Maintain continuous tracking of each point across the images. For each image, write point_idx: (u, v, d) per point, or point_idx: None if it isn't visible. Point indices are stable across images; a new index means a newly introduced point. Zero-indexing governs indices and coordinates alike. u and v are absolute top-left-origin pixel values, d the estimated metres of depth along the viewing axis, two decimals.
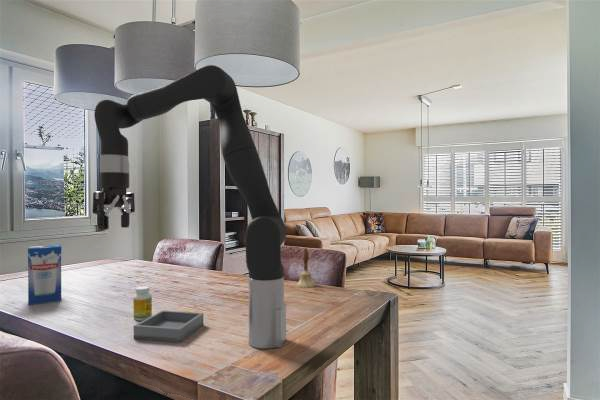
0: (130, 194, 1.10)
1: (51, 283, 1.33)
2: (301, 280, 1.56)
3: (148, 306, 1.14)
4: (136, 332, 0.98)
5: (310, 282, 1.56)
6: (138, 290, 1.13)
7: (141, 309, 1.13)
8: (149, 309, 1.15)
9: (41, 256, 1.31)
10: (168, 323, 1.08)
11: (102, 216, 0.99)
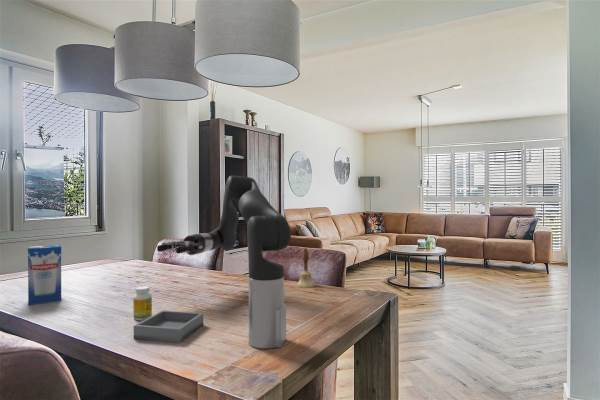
0: None
1: (51, 283, 1.33)
2: (301, 280, 1.56)
3: (148, 306, 1.14)
4: (136, 332, 0.98)
5: (310, 282, 1.56)
6: (138, 290, 1.13)
7: (141, 309, 1.13)
8: (149, 309, 1.15)
9: (41, 256, 1.31)
10: (168, 323, 1.08)
11: None
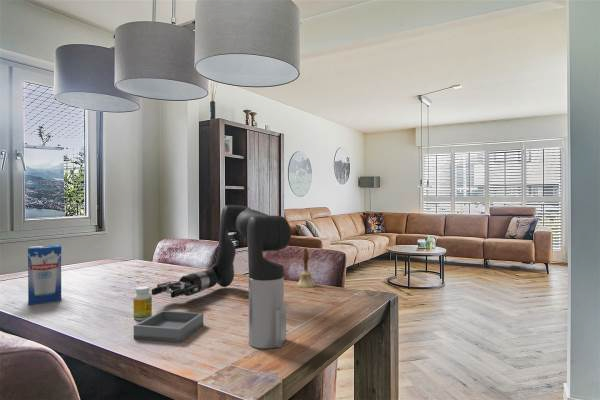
0: None
1: (51, 283, 1.33)
2: (301, 280, 1.56)
3: (148, 306, 1.14)
4: (136, 332, 0.98)
5: (310, 282, 1.56)
6: (138, 290, 1.13)
7: (141, 309, 1.13)
8: (149, 309, 1.15)
9: (41, 256, 1.31)
10: (168, 323, 1.08)
11: None
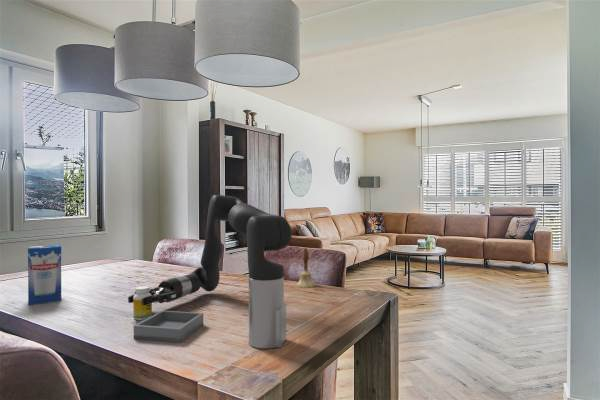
0: None
1: (51, 283, 1.33)
2: (301, 280, 1.56)
3: (148, 306, 1.14)
4: (136, 332, 0.98)
5: (310, 282, 1.56)
6: (138, 290, 1.13)
7: (141, 308, 1.13)
8: (149, 309, 1.15)
9: (41, 256, 1.31)
10: (168, 323, 1.08)
11: None
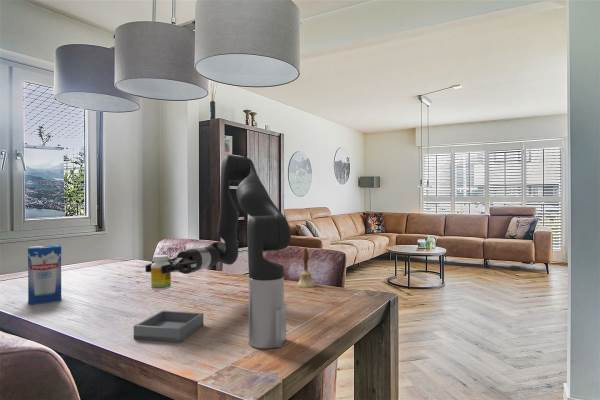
0: None
1: (51, 283, 1.33)
2: (301, 280, 1.56)
3: (167, 275, 1.06)
4: (136, 332, 0.98)
5: (310, 282, 1.56)
6: (156, 258, 1.05)
7: (160, 278, 1.04)
8: (168, 278, 1.06)
9: (41, 256, 1.31)
10: (168, 323, 1.08)
11: None
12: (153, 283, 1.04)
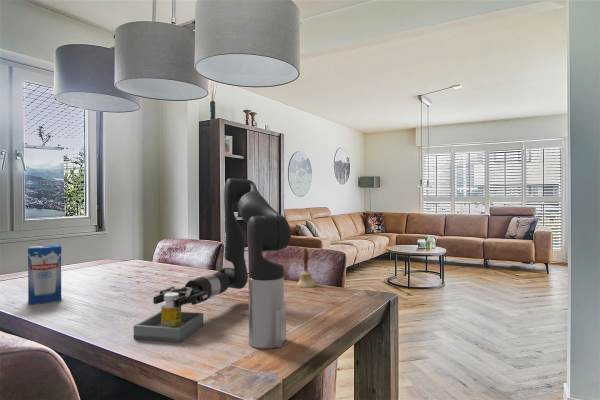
0: None
1: (51, 283, 1.33)
2: (301, 280, 1.56)
3: (178, 315, 1.03)
4: (136, 332, 0.98)
5: (310, 282, 1.56)
6: (167, 297, 1.02)
7: (170, 318, 1.01)
8: (179, 318, 1.03)
9: (41, 256, 1.31)
10: None
11: None
12: (163, 323, 1.02)
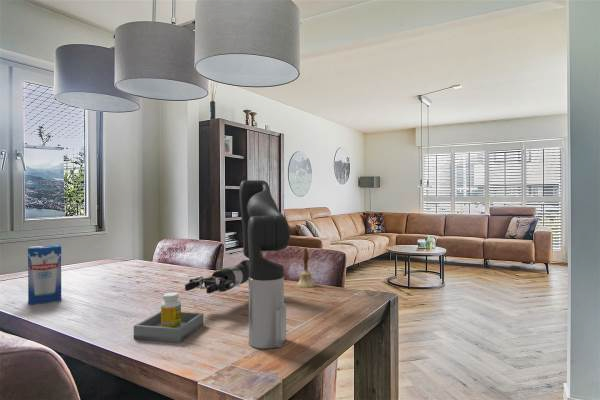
0: None
1: (51, 283, 1.33)
2: (301, 280, 1.56)
3: (178, 315, 1.03)
4: (136, 332, 0.98)
5: (310, 282, 1.56)
6: (166, 297, 1.02)
7: (170, 318, 1.01)
8: (179, 318, 1.03)
9: (41, 256, 1.31)
10: None
11: None
12: (163, 323, 1.02)
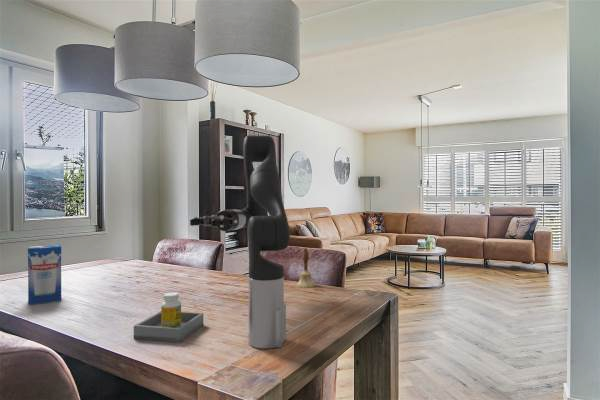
0: None
1: (51, 283, 1.33)
2: (301, 280, 1.56)
3: (178, 315, 1.03)
4: (136, 332, 0.98)
5: (310, 282, 1.56)
6: (166, 297, 1.02)
7: (170, 318, 1.01)
8: (179, 318, 1.03)
9: (41, 256, 1.31)
10: None
11: None
12: (163, 323, 1.02)
